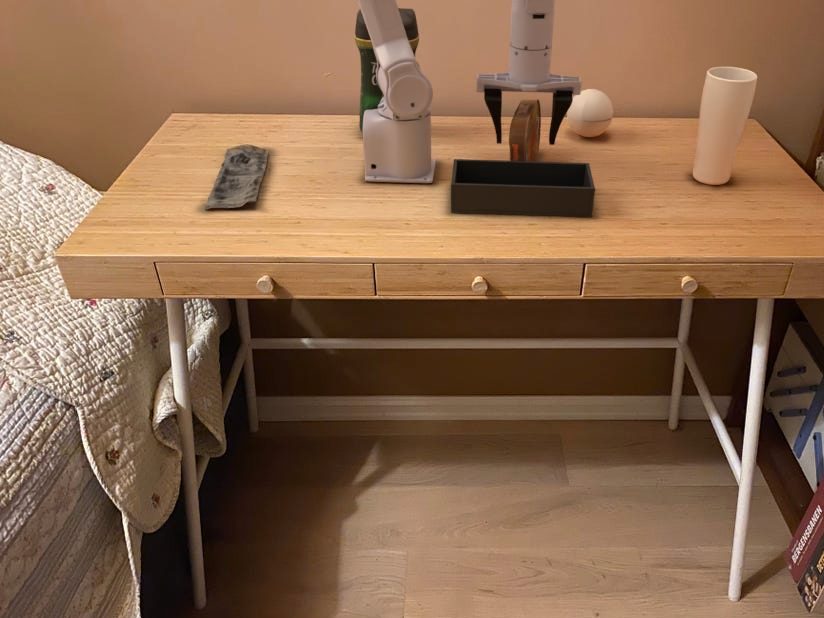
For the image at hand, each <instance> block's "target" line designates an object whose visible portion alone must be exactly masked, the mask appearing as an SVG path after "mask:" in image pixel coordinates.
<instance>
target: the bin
mask: <svg viewBox="0 0 824 618" xmlns="http://www.w3.org/2000/svg"><path fill="white" fill-rule="evenodd" d="M450 180H451V181H450V213H451V214H478V215H507V216H508V215H511V216H538V217H539V216H541V217H543V216H544V217H545V216H546V217H574V218H575V217H577V218H578V217H579V218H593V211H594V204H595V194H596V187H595V181H594V178H593V173H592V169H591V166H590V163H589V162H570V161H569V162H568V161H563V162H562V161H536V160H535V161H510V160H500V159H499V160H497V159H468V158H467V159H466V158H465V159H464V158H453V163H452V172H451V179H450Z"/></svg>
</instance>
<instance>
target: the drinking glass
mask: <svg viewBox="0 0 824 618" xmlns="http://www.w3.org/2000/svg"><path fill="white" fill-rule="evenodd" d="M757 82H758V75H757V73H755V72H754V71H751V70H749V69H746V68H742V67H736V66H716V67H715V66H714V67H711V68H709V69H708V70H707V71H706V75H705V79H704V83H703V88H702V93H701V99H700V106H699V107H700V108H699V114H698V124H697V133H696V134H697V135H696V142H695V144H696V145H695V152H694V153H695V154H694V160H693V161H694V162H693V167H692V171H691V172H692V177H693V178H694V179H695V180H696V181H697V182H699V183H701V184H705V185H709V186H718V185H719V186H720V185H724V184H726V183H728V182H729V180H730V179H731V175H732V171H733V166H734V163H735V160H736V157H737V154H738V150H739V147H740V144H741V141H742V138H743V135H744V131H745V128H746V125H747V123H748V119H749V116H750V113H751V109H752V106H753V103H754V97H755V95H756V88H757V84H758V83H757Z"/></svg>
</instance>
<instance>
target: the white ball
mask: <svg viewBox="0 0 824 618" xmlns="http://www.w3.org/2000/svg"><path fill="white" fill-rule="evenodd" d="M572 97H573V101H572V104H571V106H570V108H569V110H568V111H567V113H566V118H567V122H568V124H569V127H570V128H571V129H572V130H573V131H574V132H575V134H577V135H579V136H582V137H584V138H593V137H598V136H601V134H603V133H605V132H606V131H607V129H608V128H609V127H610V125H611V124H612V121H613V117H614V113H617V112H619V110H614V107H613V104H612V101H611V99H610V97H608V95H607V94H606V93H604V92H603V91H601V90H599V89H596V88H587V89H583V90H581V93H580V95H574V96H572ZM624 111H625V112H626V109H624V110H623V109H622V110H620V112H624Z"/></svg>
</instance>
